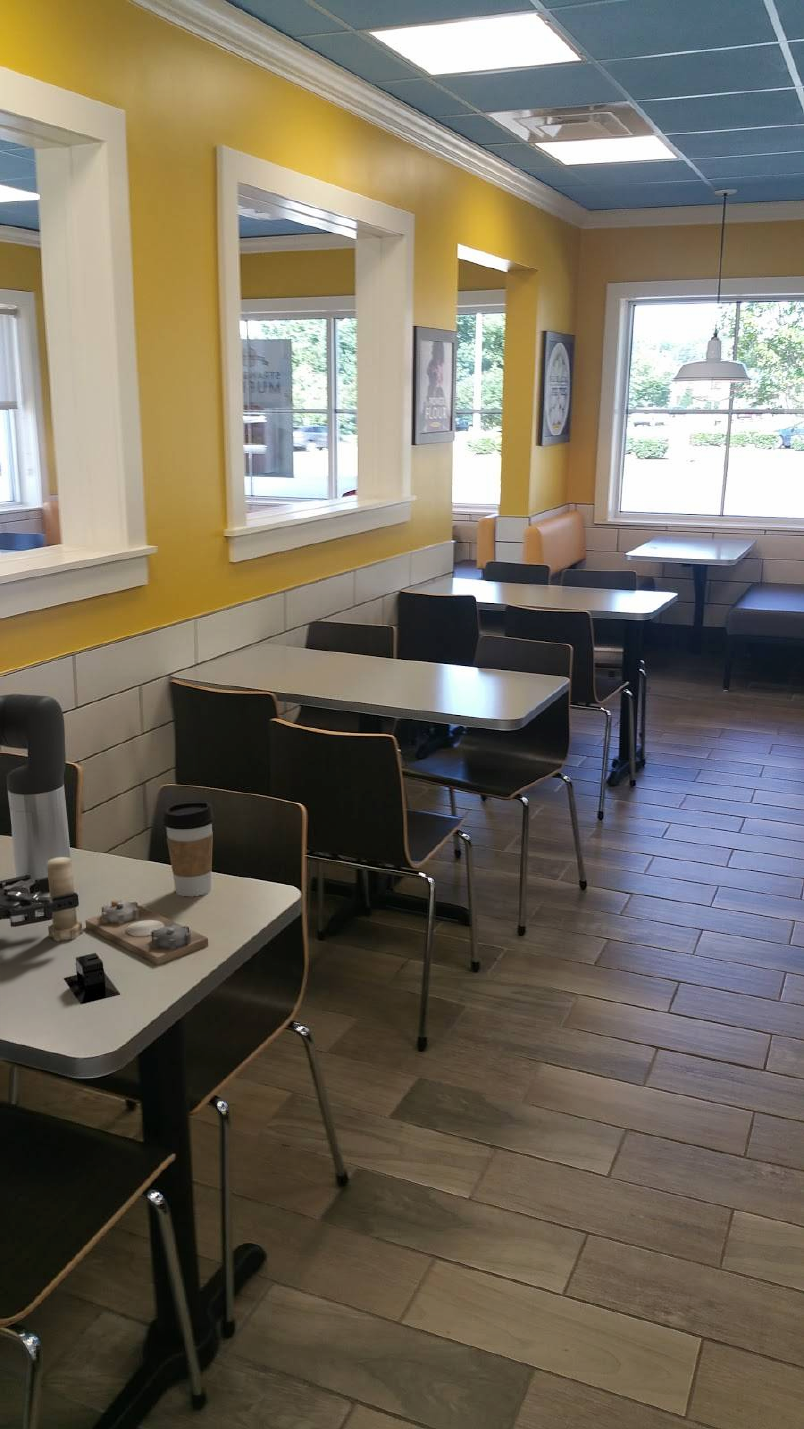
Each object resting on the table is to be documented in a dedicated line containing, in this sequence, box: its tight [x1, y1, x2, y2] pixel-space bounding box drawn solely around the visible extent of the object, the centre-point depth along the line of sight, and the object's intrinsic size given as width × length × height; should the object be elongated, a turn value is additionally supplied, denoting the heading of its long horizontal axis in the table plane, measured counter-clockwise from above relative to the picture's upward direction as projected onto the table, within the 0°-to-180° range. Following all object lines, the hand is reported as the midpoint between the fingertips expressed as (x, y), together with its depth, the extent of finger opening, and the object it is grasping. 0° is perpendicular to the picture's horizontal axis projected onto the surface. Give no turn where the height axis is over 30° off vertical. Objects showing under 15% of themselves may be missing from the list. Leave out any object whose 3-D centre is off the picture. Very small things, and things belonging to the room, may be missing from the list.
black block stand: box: [63, 952, 121, 1005], centre depth 160 cm, size 12×7×5 cm, turn 30°
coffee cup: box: [162, 801, 215, 898], centre depth 193 cm, size 8×8×15 cm
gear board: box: [85, 900, 209, 966], centre depth 176 cm, size 20×9×3 cm, turn 45°
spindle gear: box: [47, 857, 83, 942], centre depth 177 cm, size 5×5×12 cm
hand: (70, 890), depth 177 cm, fingers open, 8 cm apart
